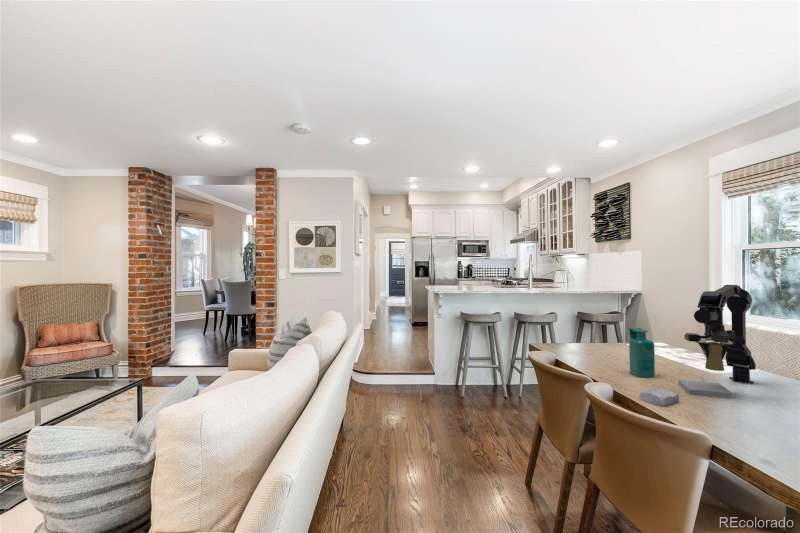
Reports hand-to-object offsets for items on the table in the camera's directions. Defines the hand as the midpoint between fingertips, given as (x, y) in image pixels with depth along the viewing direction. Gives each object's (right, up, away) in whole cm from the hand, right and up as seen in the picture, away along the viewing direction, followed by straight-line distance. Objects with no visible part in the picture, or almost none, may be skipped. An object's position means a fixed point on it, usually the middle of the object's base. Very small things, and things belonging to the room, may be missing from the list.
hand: (714, 359), depth 151 cm
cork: (0, -4, 0) cm, 4 cm away
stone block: (-30, -14, -9) cm, 34 cm away
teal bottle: (-14, -14, +25) cm, 32 cm away
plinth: (-4, -13, +1) cm, 14 cm away
